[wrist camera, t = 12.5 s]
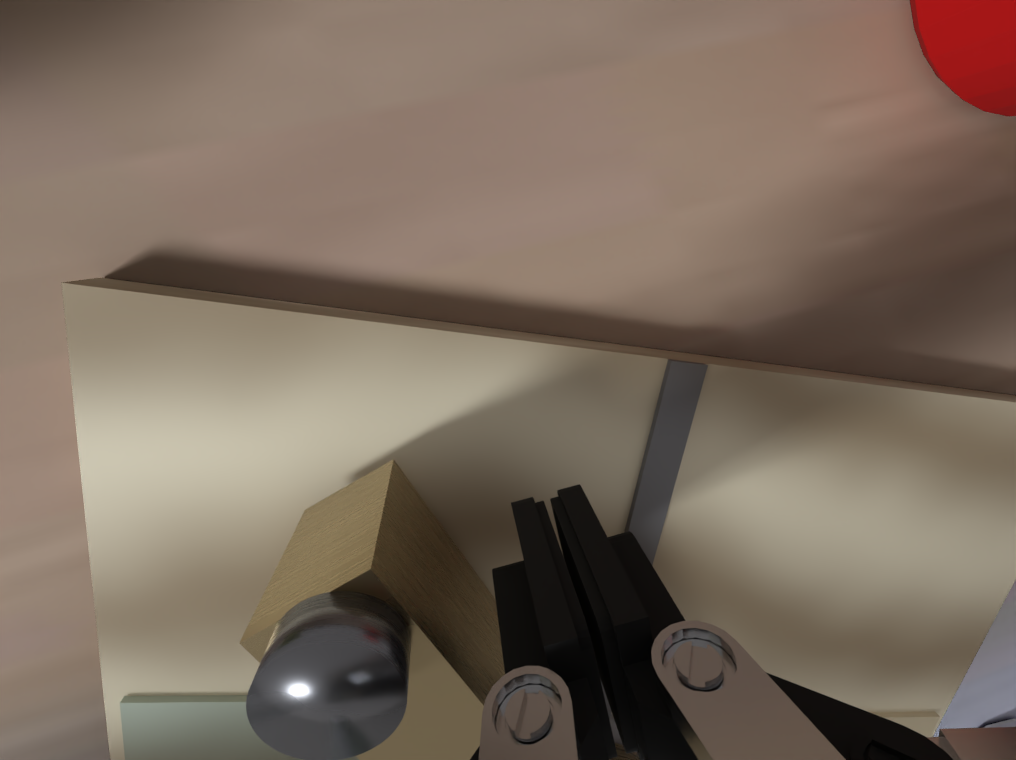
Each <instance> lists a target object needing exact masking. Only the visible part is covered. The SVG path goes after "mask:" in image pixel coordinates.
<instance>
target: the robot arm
mask: <svg viewBox="0 0 1016 760" xmlns="http://www.w3.org/2000/svg"><path fill="white" fill-rule="evenodd" d="M557 493H558V497H554V498H551V499H550V501H551V506H552V510H553V514H554V518H555V523H556V527H557V531H558V536H559V540H560V544H561V549H562V551H561V549H560V546H559V543H558V540H557V537H556V534H555V531H554V529H553V526H552V523H551V520H550V517H549V514H548V511H547V509H546V506H545V503H544V501H540V502H536V503H535V501H534V498H533V497H530V498H526V499H523V500H519V501H515V502H511V506H512V510H513V515H514V519H515V523H516V528H517V532H518V537H519V541H520V545H521V550H522V554H523V559H524V560H523V561H519V562H516V563H512V564H508V565H505V566H501V567H497V568H494V569H492V575H493V583H494V591H495V599H496V607H497V615H498V623H499V630H500V638H501V646H502V654H503V662H504V670H505V675H504V676H502V677H501V678H500V679H499V680H498V681H497V682H496V683H495V684H494V685H493V686H492V688H491V690H490V692H489V694H488V695H487V697H486V699H485V703H484V707H483V712H482V722H481V735H480V746H479V747H478V749H477V750H476V751H475V753H474V754H473V756H472V757H471V759H470V760H609V759H612V758H615V757H617V751H616V747H615V742H614V738H613V733H612V729H611V724H610V720H609V715H608V711H607V707H606V702H605V698H604V693H603V689H602V685H603V688H604V691H605V694H606V697H607V700H608V703H609V706H610V709H611V711H612V714H613V717H614V720H615V723H616V726H617V729H618V732H619V735H620V738H621V741H622V744H623V747H624V750H625V752H626V754H628V753H632V752H635V751H637V754H638V756H639V759H640V760H1016V727H992V728H957V729H940V731H939V737H925V736H924V735H922V734H920V733H918V732H916V731H914V730H912V729H910V728H908V727H906V726H903V725H901V724H898V723H896V722H893V721H891V720H888V719H885V718H883V717H880V716H878V715H875V714H872V713H870V712H867V711H865V710H862V709H860V708H857V707H854V706H852V705H849V704H847V703H844V702H841V701H839V700H836V699H834V698H831V697H829V696H826V695H823V694H821V693H818V692H816V691H813V690H810V689H808V688H805V687H803V686H800V685H797V684H795V683H792V682H790V681H787V680H785V679H782V678H779V677H777V676H774V675H772V674H769V673H766V672H765V671H764V670H763V669H762V668H761V667H760V666H759V665H758V664H757V662H756V661H755V660H754V659H753V658H752V657H751V656H750V655H749V654H748V653H747V652H746V650H745V649H744V648H743V647H742V646H741V645H740V644H739V643H738V642H737V641H736V640H735V639H734V638H733V637H732V636H731V635H729V634H728V633H727V632H726V631H725V630H722V629H720V628H718V627H716V626H714V625H712V624H709V623H705V622H701V621H686V620H685V619H684V617H683V615H682V614H681V612H680V611H679V609H678V607H677V606H676V604H675V602H674V601H673V599H672V597H671V596H670V594H669V592H668V591H667V589H666V587H665V586H664V584H663V582H662V581H661V579H660V577H659V576H658V574H657V573H656V571H655V569H654V568H653V566H652V564H651V563H650V561H649V559H648V558H647V556H646V554H645V553H644V551H643V549H642V548H641V546H640V544H639V543H638V541H637V539H636V538H635V536H634V535H633V534H632V532H630V531H628V532H625V533H621V534H617V535H614V536H610V537H607V535H606V533H605V531H604V529H603V527H602V526H601V524H600V522H599V520H598V518H597V516H596V514H595V512H594V510H593V508H592V506H591V504H590V502H589V500H588V498H587V496H586V495H585V493H584V491H583V489H582V487H581V485H580V484H578V485H574V486H571V487H567V488H563V489H560V490H557ZM562 553H563V554H562ZM600 679H601V680H600ZM601 682H602V684H601Z"/></svg>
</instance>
